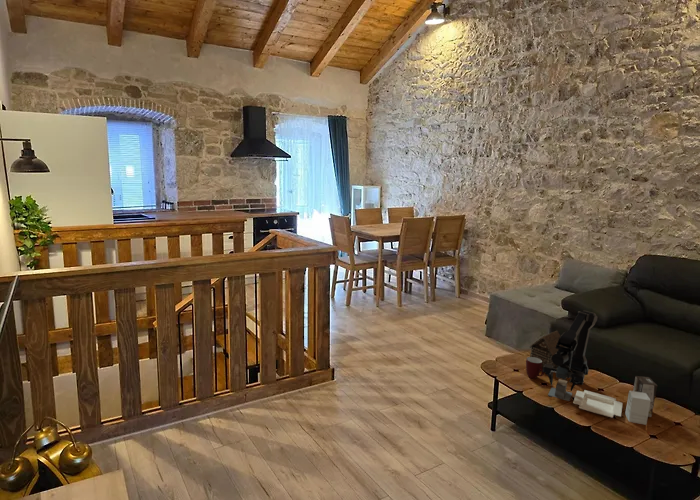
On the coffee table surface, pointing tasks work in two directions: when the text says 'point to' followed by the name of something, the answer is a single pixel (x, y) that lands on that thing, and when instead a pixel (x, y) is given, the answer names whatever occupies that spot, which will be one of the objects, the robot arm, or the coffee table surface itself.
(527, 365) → the mug
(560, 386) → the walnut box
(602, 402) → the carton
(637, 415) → the supplement box
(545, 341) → the model building
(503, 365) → the coffee table surface
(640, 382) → the coffee box
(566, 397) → the slate mat
